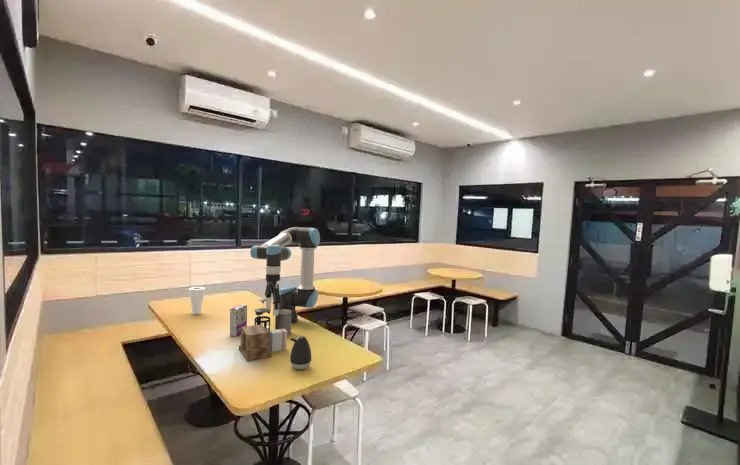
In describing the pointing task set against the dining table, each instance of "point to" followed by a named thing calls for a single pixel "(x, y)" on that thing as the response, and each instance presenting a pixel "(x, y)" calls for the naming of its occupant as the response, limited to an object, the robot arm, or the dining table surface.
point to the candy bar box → (238, 319)
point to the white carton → (278, 340)
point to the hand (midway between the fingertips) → (271, 312)
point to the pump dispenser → (300, 353)
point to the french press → (258, 318)
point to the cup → (196, 298)
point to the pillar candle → (283, 320)
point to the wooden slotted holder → (255, 342)
